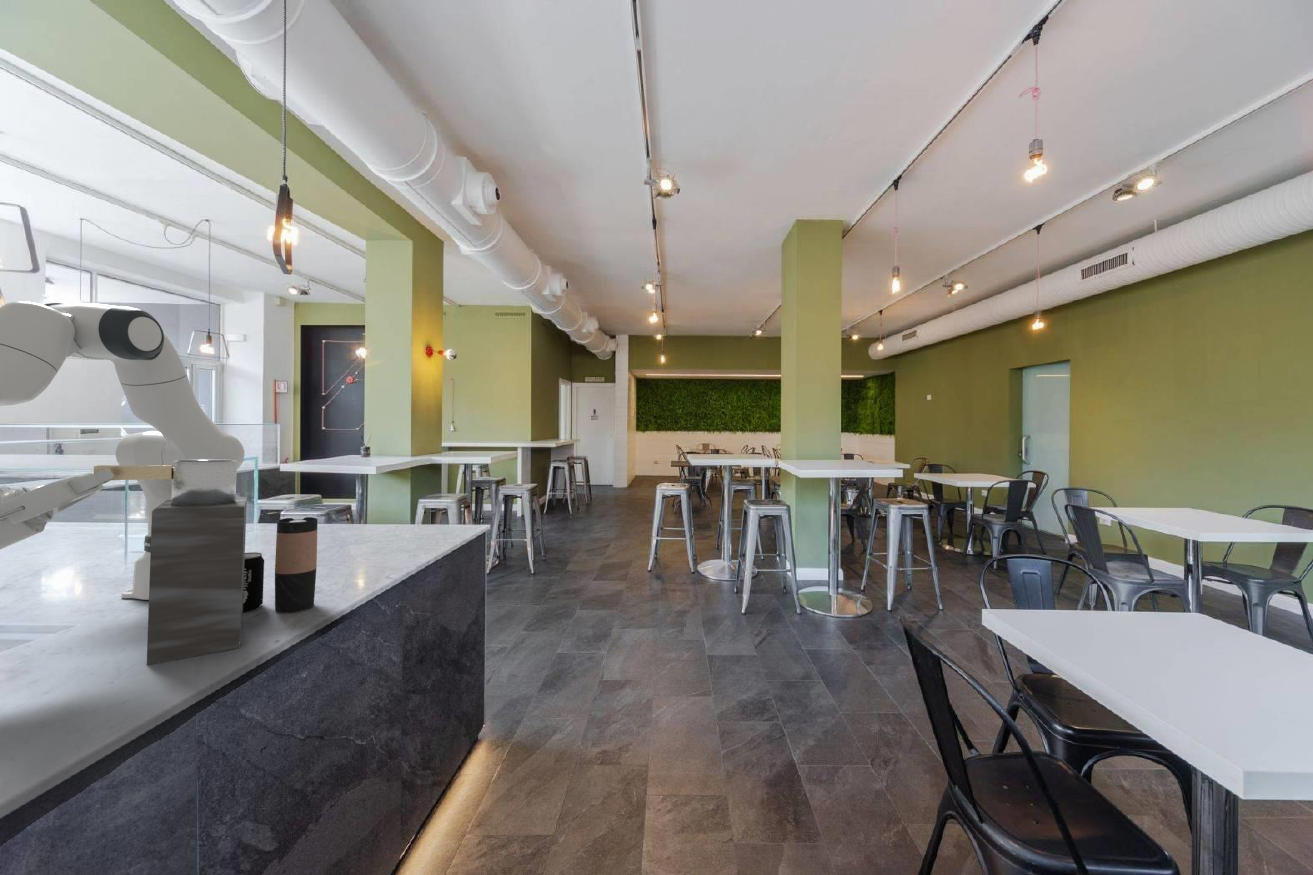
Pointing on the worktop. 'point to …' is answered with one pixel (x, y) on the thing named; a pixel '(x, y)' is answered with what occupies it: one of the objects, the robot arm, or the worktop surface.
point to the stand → (196, 580)
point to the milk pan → (187, 479)
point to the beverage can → (253, 581)
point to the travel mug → (295, 564)
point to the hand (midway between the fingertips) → (118, 470)
